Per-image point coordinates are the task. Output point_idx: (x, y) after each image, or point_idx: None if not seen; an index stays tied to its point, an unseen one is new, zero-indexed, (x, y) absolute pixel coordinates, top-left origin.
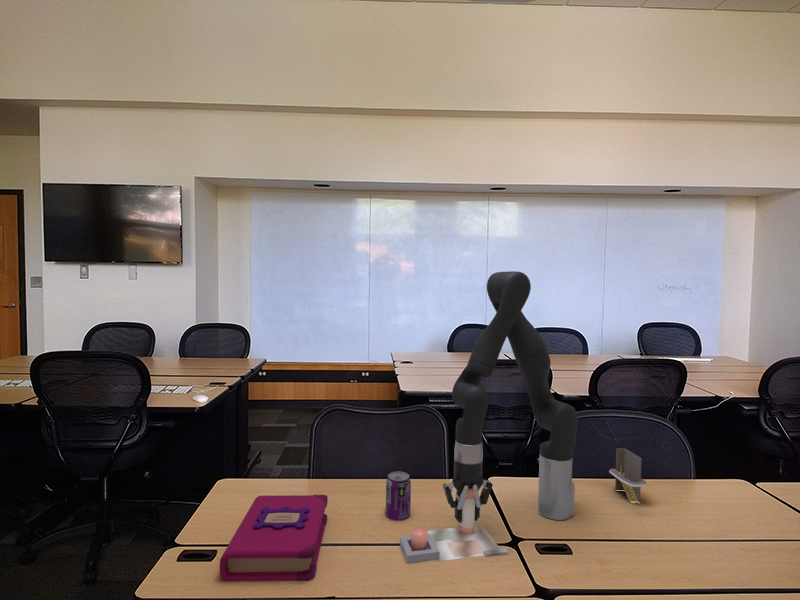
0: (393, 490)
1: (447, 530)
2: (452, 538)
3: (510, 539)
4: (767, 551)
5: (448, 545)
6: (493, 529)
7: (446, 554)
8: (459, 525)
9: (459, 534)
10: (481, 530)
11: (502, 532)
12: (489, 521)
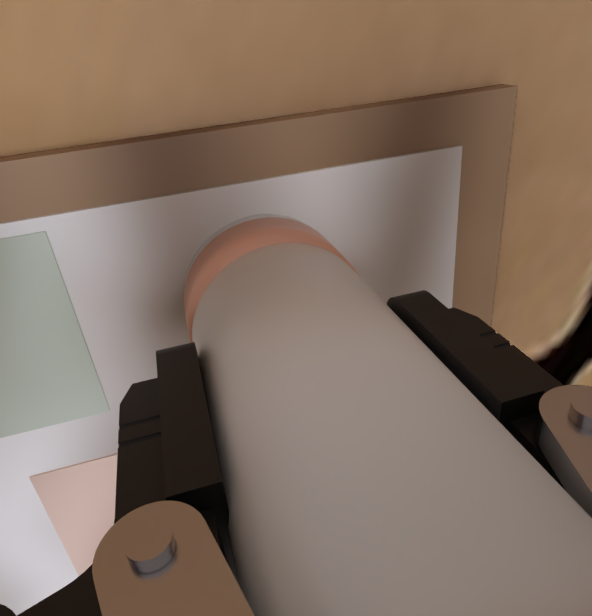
0: None
1: (38, 269)
2: (92, 405)
3: (565, 330)
4: None
5: (44, 506)
6: (529, 188)
7: (23, 598)
8: (189, 336)
9: (177, 331)
10: (413, 259)
11: (569, 238)
12: (574, 21)
